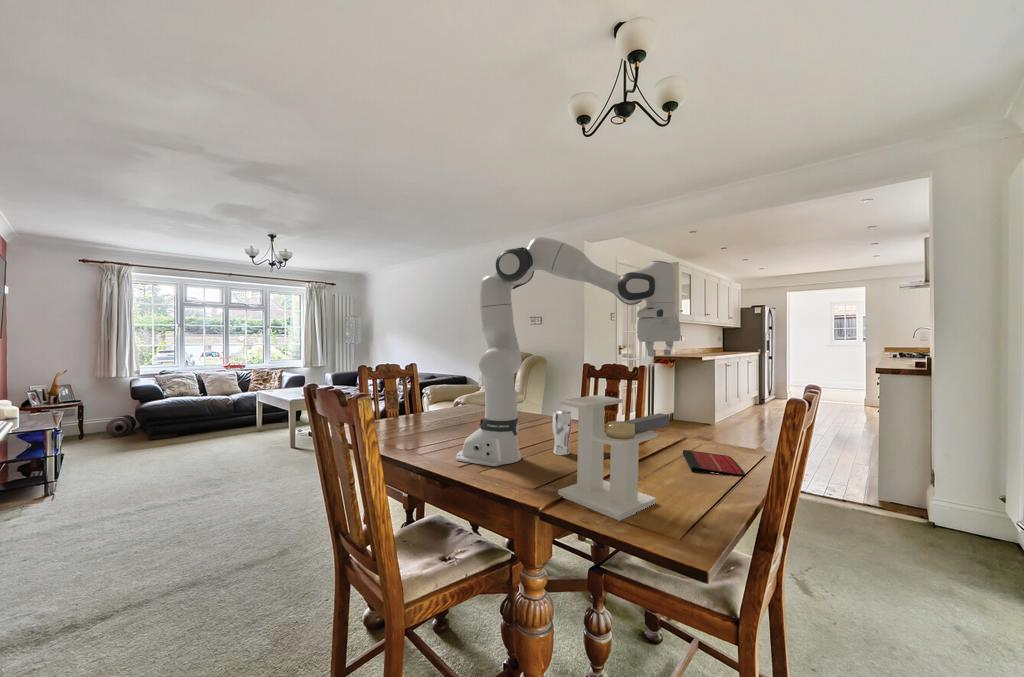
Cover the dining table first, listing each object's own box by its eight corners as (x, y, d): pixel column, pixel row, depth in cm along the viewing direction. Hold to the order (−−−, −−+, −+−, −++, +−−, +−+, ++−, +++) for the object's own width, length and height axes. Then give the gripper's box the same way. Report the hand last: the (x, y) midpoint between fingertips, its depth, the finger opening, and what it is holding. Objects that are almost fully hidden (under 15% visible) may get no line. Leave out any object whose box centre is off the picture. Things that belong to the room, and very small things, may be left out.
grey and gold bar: (623, 440, 105) (624, 428, 105) (600, 435, 111) (600, 423, 110) (675, 426, 121) (676, 416, 121) (653, 422, 126) (653, 412, 126)
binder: (691, 466, 139) (682, 449, 159) (691, 473, 139) (682, 455, 159) (746, 473, 135) (730, 454, 156) (746, 480, 135) (729, 460, 156)
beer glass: (575, 453, 158) (575, 412, 158) (563, 457, 154) (563, 414, 153) (560, 449, 163) (560, 409, 163) (548, 452, 159) (548, 411, 158)
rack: (619, 520, 103) (621, 412, 103) (558, 495, 118) (559, 400, 118) (656, 503, 114) (658, 404, 113) (595, 482, 129) (596, 395, 128)
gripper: (668, 313, 148) (667, 354, 148) (633, 311, 134) (632, 356, 135) (686, 313, 143) (685, 355, 143) (652, 311, 130) (651, 357, 130)
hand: (659, 355), depth 139 cm, fingers open, 8 cm apart
